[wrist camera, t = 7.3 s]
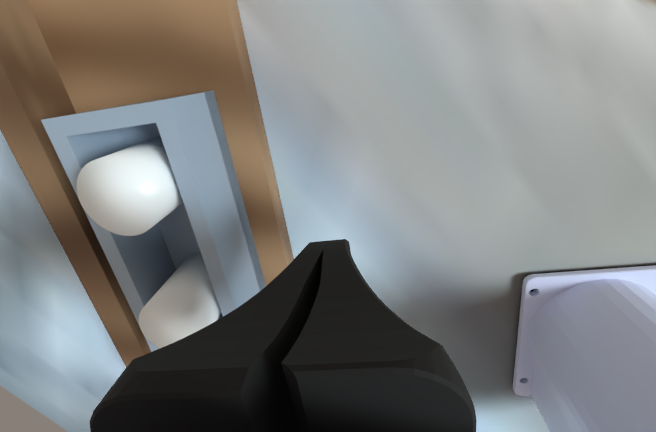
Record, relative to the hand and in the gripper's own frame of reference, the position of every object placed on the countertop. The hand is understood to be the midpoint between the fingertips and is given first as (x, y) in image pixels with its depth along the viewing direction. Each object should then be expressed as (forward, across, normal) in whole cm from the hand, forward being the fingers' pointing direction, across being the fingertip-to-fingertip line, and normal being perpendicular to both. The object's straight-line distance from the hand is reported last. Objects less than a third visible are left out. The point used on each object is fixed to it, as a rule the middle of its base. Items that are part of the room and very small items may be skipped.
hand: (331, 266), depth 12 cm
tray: (+6, +7, 0) cm, 9 cm away
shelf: (+7, +8, 0) cm, 11 cm away
